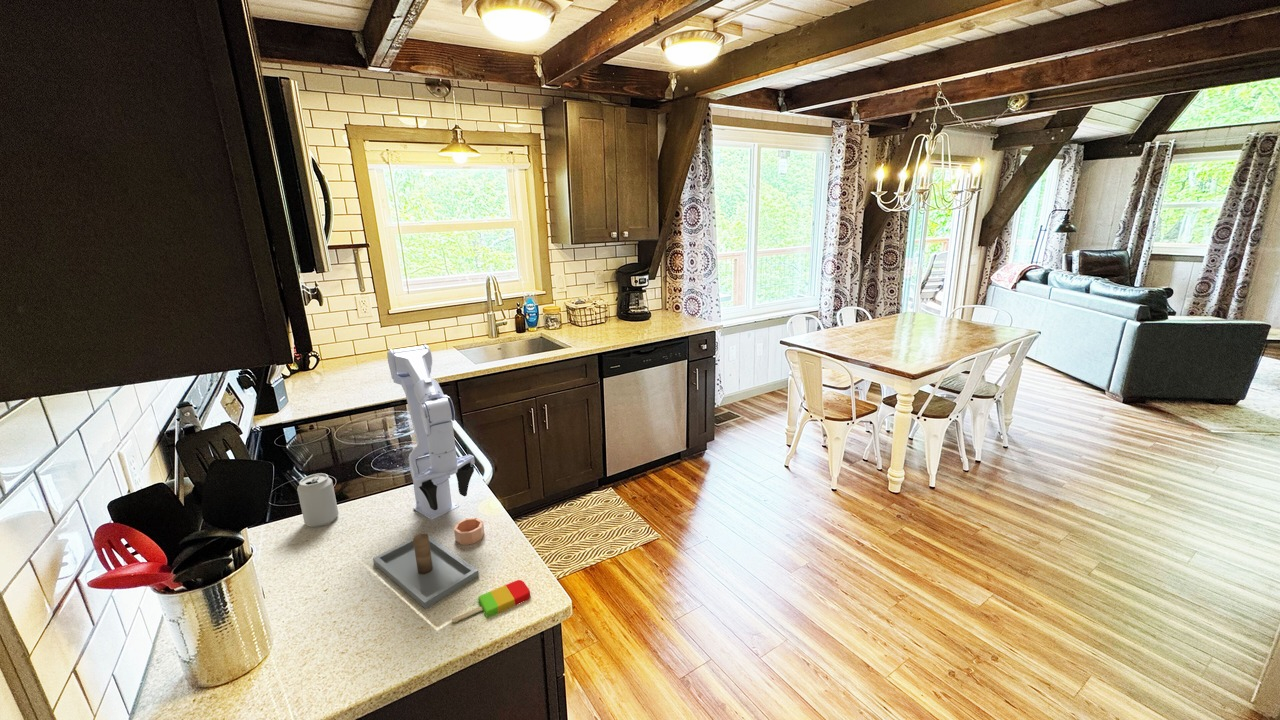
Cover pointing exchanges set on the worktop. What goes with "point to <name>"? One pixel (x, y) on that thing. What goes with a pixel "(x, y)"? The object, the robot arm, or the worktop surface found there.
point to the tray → (432, 585)
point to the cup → (469, 531)
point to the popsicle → (499, 599)
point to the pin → (422, 553)
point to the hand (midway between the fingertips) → (449, 501)
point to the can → (317, 500)
